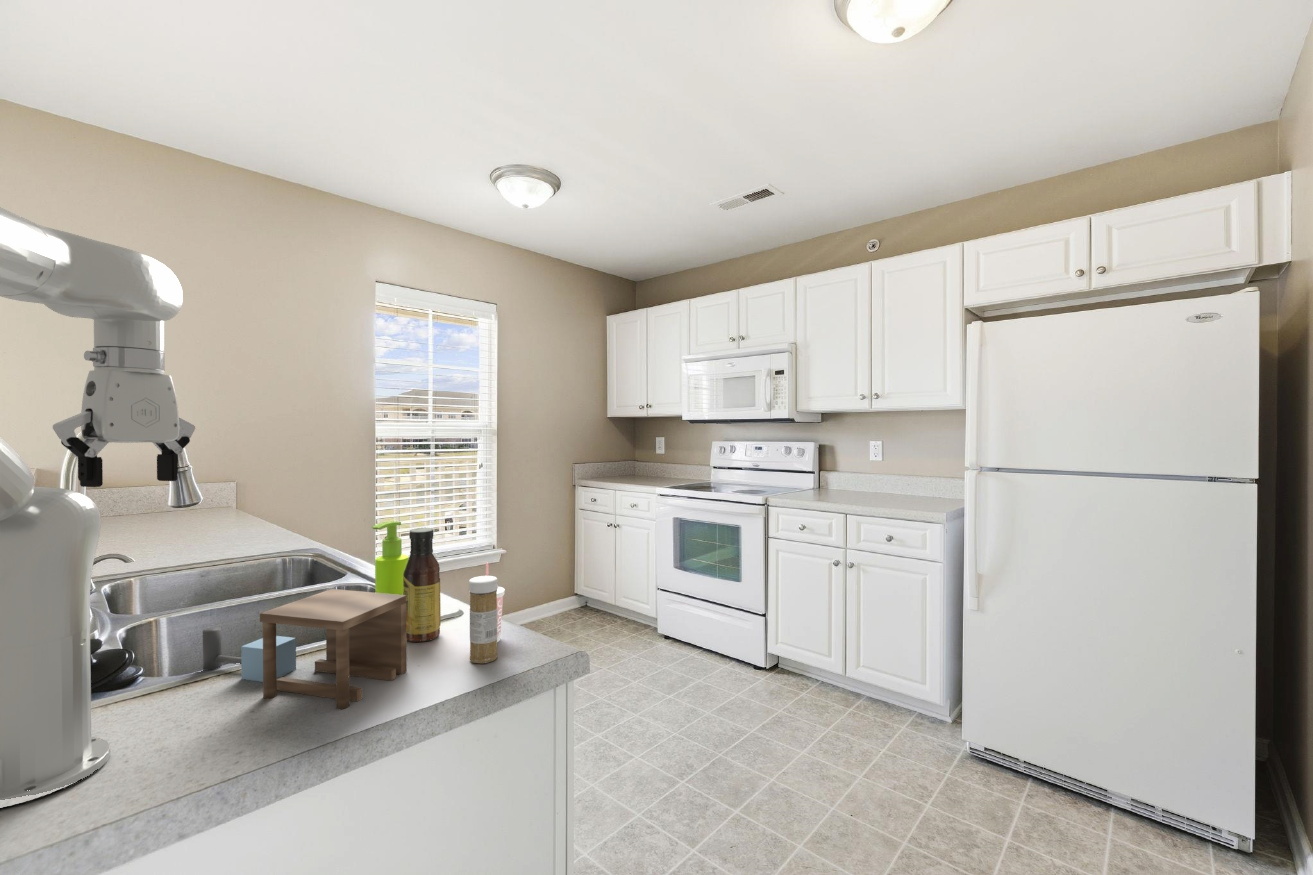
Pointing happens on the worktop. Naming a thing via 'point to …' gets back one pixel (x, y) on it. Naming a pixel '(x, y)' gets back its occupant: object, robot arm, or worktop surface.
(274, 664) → the walnut shelf
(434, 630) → the sauce bottle
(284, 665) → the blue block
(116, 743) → the worktop surface
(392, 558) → the soap dispenser
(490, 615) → the sprinkles bottle
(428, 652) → the worktop surface
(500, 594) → the beverage cup
